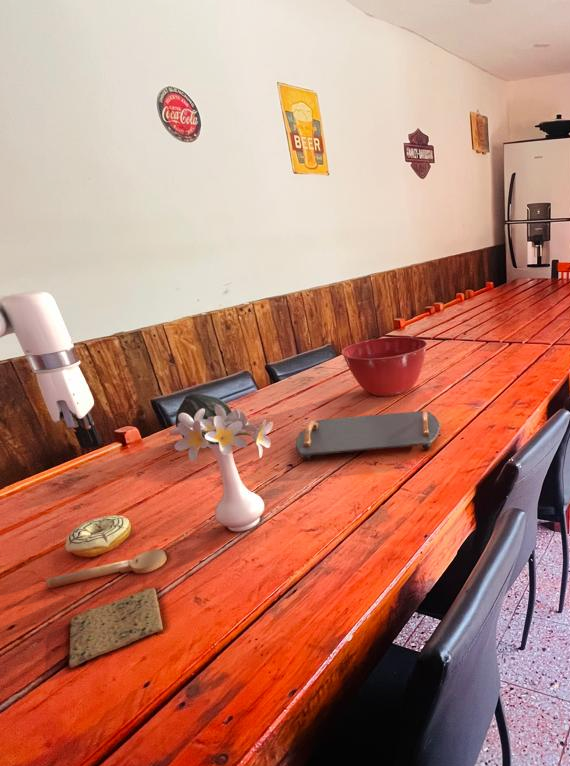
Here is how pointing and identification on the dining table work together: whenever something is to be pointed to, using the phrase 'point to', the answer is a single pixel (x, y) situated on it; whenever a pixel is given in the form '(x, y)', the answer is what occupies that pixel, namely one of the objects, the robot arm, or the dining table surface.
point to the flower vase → (226, 460)
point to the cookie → (113, 626)
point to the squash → (200, 406)
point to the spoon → (113, 568)
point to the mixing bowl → (386, 364)
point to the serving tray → (367, 433)
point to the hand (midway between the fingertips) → (92, 445)
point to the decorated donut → (98, 536)
